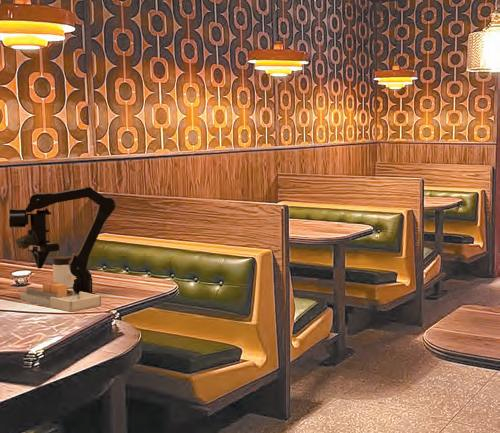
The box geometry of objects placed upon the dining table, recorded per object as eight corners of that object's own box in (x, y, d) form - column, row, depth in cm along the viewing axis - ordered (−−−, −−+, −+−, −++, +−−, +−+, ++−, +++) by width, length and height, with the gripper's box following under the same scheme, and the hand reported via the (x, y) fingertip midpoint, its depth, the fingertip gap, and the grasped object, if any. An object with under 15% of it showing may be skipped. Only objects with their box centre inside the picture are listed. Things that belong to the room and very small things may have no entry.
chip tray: (81, 300, 257) (80, 291, 257) (101, 305, 249) (101, 295, 249) (50, 306, 247) (50, 297, 247) (70, 311, 239) (70, 301, 239)
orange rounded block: (52, 292, 261) (52, 281, 260) (59, 293, 258) (58, 282, 258) (43, 293, 258) (42, 283, 257) (49, 295, 255) (49, 284, 255)
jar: (60, 289, 278) (59, 259, 277) (48, 286, 283) (47, 257, 282) (79, 286, 285) (78, 256, 284) (67, 283, 290) (66, 255, 289)
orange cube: (60, 293, 257) (60, 283, 257) (67, 295, 255) (66, 284, 254) (51, 295, 254) (50, 284, 254) (57, 297, 252) (57, 286, 251)
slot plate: (50, 294, 269) (50, 283, 269) (80, 300, 257) (80, 290, 257) (20, 299, 260) (20, 288, 259) (50, 306, 247) (49, 295, 247)
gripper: (5, 226, 260) (6, 268, 262) (32, 230, 248) (34, 274, 250) (32, 224, 269) (33, 264, 270) (60, 228, 257) (61, 270, 258)
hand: (39, 268), depth 262 cm, fingers closed
